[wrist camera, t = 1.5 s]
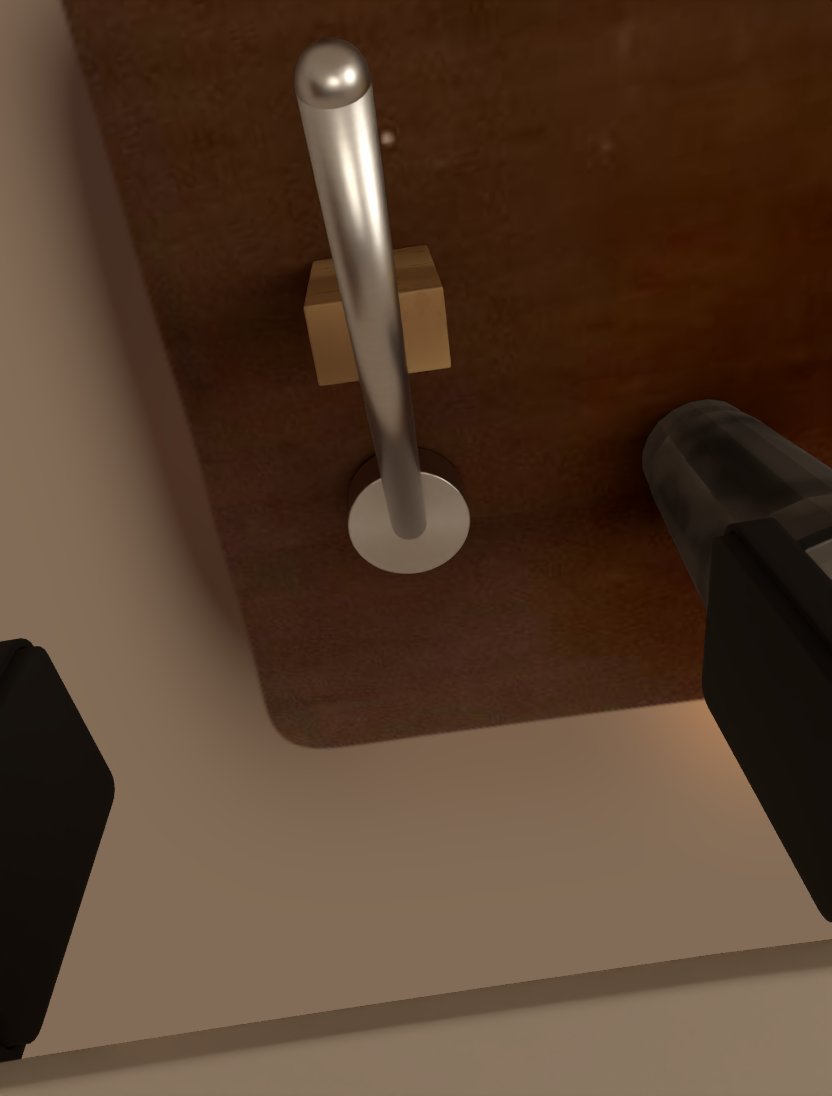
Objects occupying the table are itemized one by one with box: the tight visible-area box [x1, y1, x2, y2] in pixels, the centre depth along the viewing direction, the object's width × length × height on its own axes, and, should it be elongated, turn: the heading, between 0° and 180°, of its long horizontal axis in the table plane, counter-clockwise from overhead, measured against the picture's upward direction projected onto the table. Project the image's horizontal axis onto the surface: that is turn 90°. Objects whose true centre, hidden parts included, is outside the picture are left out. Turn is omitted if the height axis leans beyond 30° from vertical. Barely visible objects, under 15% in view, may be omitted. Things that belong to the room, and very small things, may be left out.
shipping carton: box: [303, 245, 451, 386], centre depth 25 cm, size 2×4×6 cm, turn 97°
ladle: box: [294, 37, 470, 574], centre depth 23 cm, size 19×5×12 cm, turn 7°
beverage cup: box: [642, 399, 832, 611], centre depth 23 cm, size 7×7×20 cm
